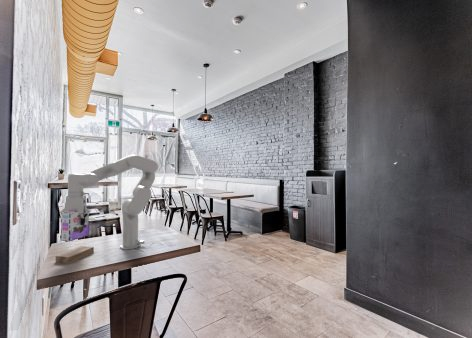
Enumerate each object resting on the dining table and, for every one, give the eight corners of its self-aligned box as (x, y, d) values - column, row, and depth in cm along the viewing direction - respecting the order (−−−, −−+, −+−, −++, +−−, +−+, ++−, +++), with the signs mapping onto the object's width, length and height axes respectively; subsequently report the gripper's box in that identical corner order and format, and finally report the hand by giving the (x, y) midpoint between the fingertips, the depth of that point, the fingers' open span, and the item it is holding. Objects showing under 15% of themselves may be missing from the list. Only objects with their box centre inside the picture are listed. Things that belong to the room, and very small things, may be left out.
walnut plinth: (93, 253, 147) (93, 247, 147) (69, 264, 130) (69, 257, 130) (81, 252, 149) (81, 246, 149) (55, 263, 132) (55, 255, 132)
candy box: (69, 242, 132) (69, 212, 132) (60, 241, 133) (60, 212, 133) (89, 235, 146) (89, 208, 146) (81, 234, 147) (81, 207, 147)
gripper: (94, 194, 144) (94, 223, 144) (63, 194, 142) (63, 223, 142) (88, 195, 137) (88, 226, 137) (55, 195, 134) (55, 226, 134)
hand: (75, 224), depth 139 cm, fingers closed on candy box, 7 cm apart
